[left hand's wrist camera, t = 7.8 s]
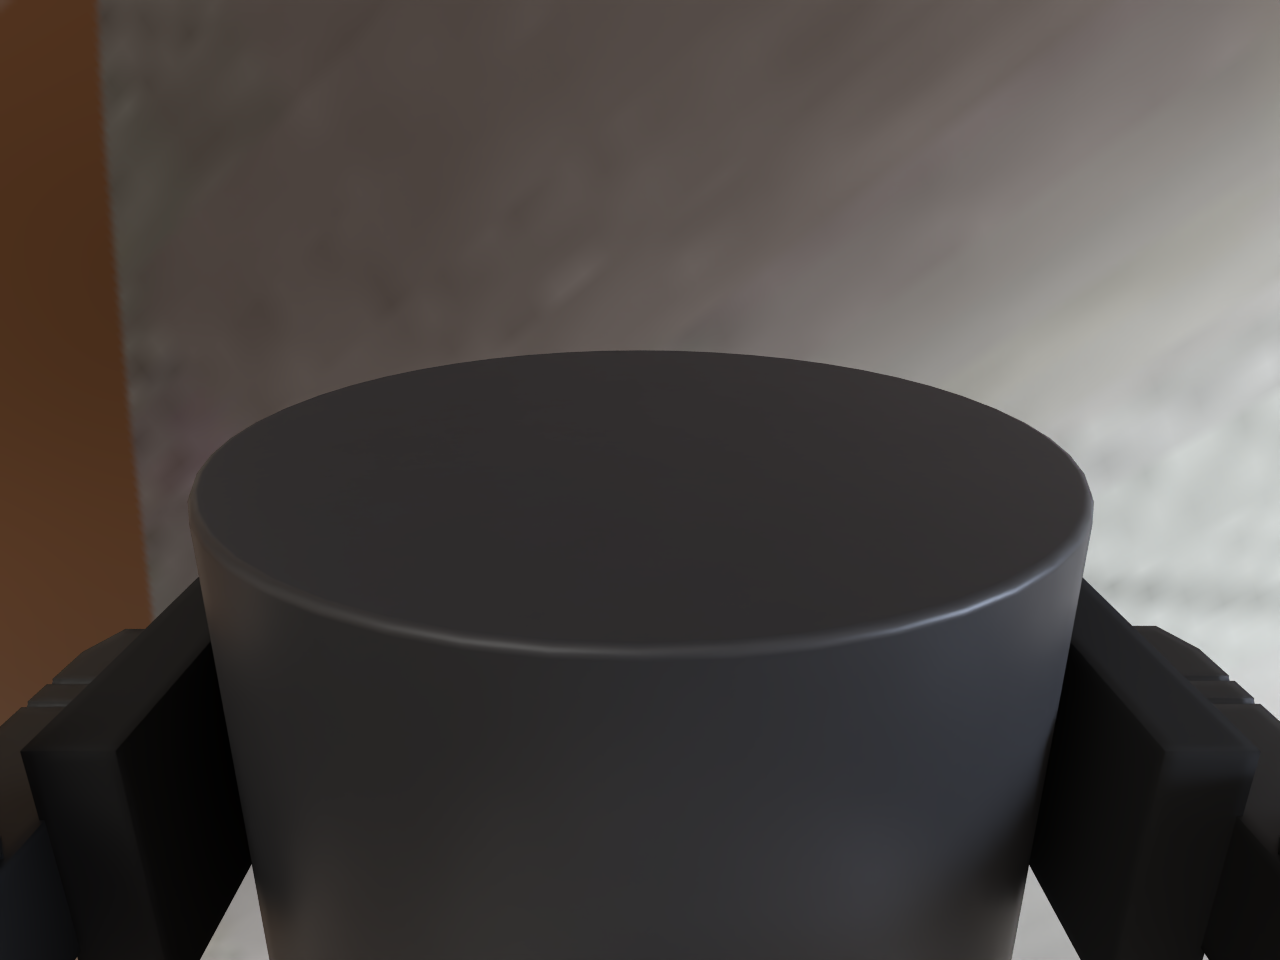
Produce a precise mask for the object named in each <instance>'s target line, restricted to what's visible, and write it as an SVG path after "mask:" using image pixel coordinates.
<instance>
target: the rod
mask: <svg viewBox="0 0 1280 960" xmlns="http://www.w3.org/2000/svg"><path fill="white" fill-rule="evenodd" d="M1093 506H1094V501H1093V498H1092V494H1091V491H1090V489H1089V486H1088V483H1087V480H1086V477H1085V475H1084V473H1083V472H1082V470H1081V469H1080V468H1079V466H1078V465H1077V464H1076V463H1075V461H1074V460H1073V459H1072V457H1071V456H1070V455H1069V454H1068V453H1067V452H1065V451H1064V450H1063V449H1062V448H1061V447H1060V446H1058V445H1057V444H1056V443H1055V442H1054V441H1052V440H1051V439H1050V438H1049V437H1047V436H1045V435H1044V434H1042V433H1040V432H1039V431H1037V430H1036V429H1034V428H1032V427H1031V426H1029V425H1027V424H1026V423H1024V422H1022V421H1020V420H1018V419H1016V418H1014V417H1011V416H1009V415H1007V414H1005V413H1003V412H1001V411H999V410H997V409H994V408H992V407H989V406H987V405H984V404H982V403H979V402H976V401H974V400H971V399H968V398H966V397H963V396H960V395H957V394H954V393H951V392H948V391H944V390H941V389H938V388H935V387H932V386H928V385H924V384H920V383H916V382H913V381H909V380H905V379H901V378H897V377H892V376H888V375H883V374H878V373H873V372H869V371H864V370H859V369H853V368H847V367H841V366H835V365H829V364H823V363H815V362H808V361H800V360H793V359H784V358H774V357H764V356H754V355H741V354H727V353H712V352H688V351H591V352H567V353H552V354H538V355H525V356H515V357H505V358H495V359H487V360H479V361H472V362H464V363H457V364H451V365H445V366H439V367H433V368H427V369H421V370H416V371H411V372H406V373H402V374H397V375H392V376H387V377H383V378H379V379H375V380H371V381H367V382H363V383H359V384H355V385H352V386H348V387H345V388H342V389H339V390H335V391H332V392H329V393H326V394H323V395H319V396H317V397H314V398H312V399H309V400H306V401H304V402H301V403H299V404H296V405H293V406H291V407H288V408H286V409H283V410H281V411H279V412H277V413H275V414H273V415H271V416H269V417H267V418H265V419H263V420H260V421H258V422H256V423H255V424H253V425H251V426H250V427H248V428H246V429H245V430H243V431H242V432H240V433H238V434H237V435H235V436H234V437H232V438H231V439H229V440H228V441H227V442H226V443H225V444H224V445H222V446H221V447H220V448H219V449H218V450H216V451H215V452H214V453H213V454H212V455H211V456H210V457H209V458H208V460H207V461H206V462H205V464H204V465H203V466H202V468H201V469H200V470H199V472H198V473H197V475H196V478H195V481H194V484H193V487H192V490H191V492H190V496H189V499H188V513H189V525H190V530H191V536H192V541H193V547H194V552H195V557H196V563H197V568H198V574H199V579H200V585H201V590H202V595H203V601H204V606H205V612H206V617H207V623H208V628H209V634H210V639H211V644H212V650H213V655H214V661H215V666H216V672H217V677H218V682H219V688H220V693H221V699H222V704H223V710H224V715H225V721H226V726H227V731H228V737H229V742H230V748H231V753H232V759H233V764H234V769H235V775H236V780H237V786H238V791H239V797H240V802H241V808H242V813H243V818H244V824H245V829H246V835H247V840H248V846H249V851H250V856H251V862H252V867H253V873H254V878H255V884H256V889H257V894H258V900H259V905H260V911H261V916H262V922H263V927H264V933H265V938H266V943H267V949H268V954H269V960H1011V959H1012V953H1013V948H1014V943H1015V937H1016V932H1017V926H1018V921H1019V916H1020V910H1021V905H1022V900H1023V894H1024V889H1025V883H1026V878H1027V873H1028V867H1029V862H1030V857H1031V851H1032V846H1033V840H1034V835H1035V830H1036V824H1037V819H1038V814H1039V808H1040V803H1041V797H1042V792H1043V787H1044V781H1045V776H1046V771H1047V765H1048V760H1049V754H1050V749H1051V744H1052V738H1053V733H1054V727H1055V722H1056V717H1057V711H1058V706H1059V701H1060V695H1061V690H1062V684H1063V679H1064V674H1065V668H1066V663H1067V658H1068V652H1069V647H1070V641H1071V636H1072V631H1073V625H1074V620H1075V615H1076V609H1077V604H1078V598H1079V593H1080V588H1081V582H1082V577H1083V572H1084V566H1085V561H1086V555H1087V550H1088V545H1089V539H1090V534H1091V528H1092V521H1093Z"/></svg>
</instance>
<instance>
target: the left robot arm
mask: <svg viewBox="0 0 1280 960" xmlns="http://www.w3.org/2000/svg"><path fill="white" fill-rule="evenodd" d="M251 864H252V862H251V856H250V851H249V846H248V840H247V835H246V829H245V824H244V818H243V813H242V808H241V802H240V797H239V791H238V786H237V780H236V775H235V769H234V764H233V759H232V753H231V748H230V742H229V737H228V731H227V726H226V721H225V715H224V710H223V704H222V699H221V693H220V688H219V682H218V677H217V672H216V666H215V661H214V655H213V650H212V644H211V639H210V634H209V628H208V623H207V617H206V612H205V606H204V601H203V595H202V590H201V585H200V579H199V577H198V578H197V579H196V580H195V581H194V582H193V583H192V584H191V585H190V586H189V587H188V588H187V589H186V590H185V591H184V592H183V593H182V594H181V595H180V596H179V597H178V598H177V599H176V600H175V601H173V602H172V603H171V604H170V605H169V606H168V607H167V608H166V609H165V610H164V611H163V612H162V613H161V614H160V615H159V616H158V617H157V618H156V619H155V620H154V621H153V622H152V623H151V624H150V625H149V626H148V627H147V628H146V629H125V630H123V631H121V632H119V633H117V634H115V635H113V636H112V637H110V638H108V639H106V640H104V641H102V642H100V643H98V644H97V645H95V646H93V647H91V648H89V649H87V650H85V651H83V652H82V653H81V654H80V655H79V656H78V657H76V658H75V659H74V660H73V661H72V662H71V663H70V664H69V665H68V666H66V667H65V668H64V669H63V670H62V671H61V672H60V673H59V674H58V675H57V676H55V677H54V678H53V683H52V684H47V685H46V686H44V687H43V688H42V689H41V690H40V691H39V692H38V693H37V694H36V695H34V696H33V697H32V698H31V699H30V700H29V701H28V706H27V707H22V708H20V709H19V710H18V711H17V712H16V713H15V714H14V715H12V716H11V717H10V718H9V719H8V720H7V721H6V722H5V723H4V724H3V725H1V726H0V960H75V959H76V958H77V957H78V960H200V959H201V957H202V955H203V953H204V951H205V949H206V948H207V946H208V944H209V942H210V940H211V938H212V936H213V935H214V933H215V931H216V929H217V927H218V925H219V924H220V922H221V920H222V918H223V916H224V914H225V912H226V911H227V909H228V907H229V905H230V903H231V901H232V899H233V898H234V896H235V894H236V892H237V890H238V888H239V887H240V885H241V883H242V881H243V879H244V877H245V875H246V874H247V872H248V870H249V868H250V866H251ZM1029 865H1030V867H1031V869H1032V871H1033V873H1034V874H1035V876H1036V878H1037V880H1038V882H1039V884H1040V885H1041V887H1042V889H1043V891H1044V893H1045V895H1046V897H1047V898H1048V900H1049V902H1050V904H1051V906H1052V908H1053V910H1054V911H1055V913H1056V915H1057V917H1058V919H1059V921H1060V922H1061V924H1062V926H1063V928H1064V930H1065V932H1066V934H1067V935H1068V937H1069V939H1070V941H1071V943H1072V945H1073V946H1074V948H1075V950H1076V952H1077V954H1078V956H1079V958H1080V959H1081V960H1203V956H1204V953H1205V955H1206V956H1207V957H1208V959H1209V960H1280V721H1279V720H1278V719H1276V718H1275V717H1274V716H1273V715H1272V714H1271V713H1270V712H1269V711H1268V710H1266V709H1265V708H1264V707H1263V706H1262V705H1261V704H1255V703H1254V698H1253V697H1252V696H1251V695H1250V694H1249V693H1248V692H1246V691H1245V690H1244V689H1243V688H1242V687H1241V686H1240V685H1239V684H1238V683H1236V682H1235V681H1229V675H1228V674H1226V673H1225V672H1224V671H1223V670H1222V669H1221V668H1220V667H1219V666H1218V665H1216V664H1215V663H1214V662H1213V661H1212V660H1211V659H1210V658H1209V657H1208V656H1206V655H1205V654H1204V653H1203V652H1202V651H1201V650H1200V649H1198V648H1196V647H1195V646H1193V645H1191V644H1189V643H1187V642H1185V641H1183V640H1181V639H1179V638H1178V637H1176V636H1174V635H1172V634H1170V633H1168V632H1166V631H1164V630H1163V629H1161V628H1159V627H1157V626H1132V625H1131V624H1130V623H1129V622H1128V621H1127V620H1126V619H1125V618H1124V617H1123V616H1121V615H1120V614H1119V613H1118V612H1117V611H1116V610H1115V609H1114V608H1113V607H1112V606H1111V605H1110V604H1109V603H1108V602H1107V601H1106V600H1105V599H1104V598H1103V597H1102V596H1101V595H1100V594H1099V593H1098V592H1097V591H1096V590H1095V589H1094V588H1093V587H1092V586H1091V585H1090V584H1089V583H1088V582H1087V581H1086V580H1085V579H1084V578H1082V582H1081V588H1080V593H1079V598H1078V604H1077V609H1076V615H1075V620H1074V625H1073V631H1072V636H1071V641H1070V647H1069V652H1068V658H1067V663H1066V668H1065V674H1064V679H1063V684H1062V690H1061V695H1060V701H1059V706H1058V711H1057V717H1056V722H1055V727H1054V733H1053V738H1052V744H1051V749H1050V754H1049V760H1048V765H1047V771H1046V776H1045V781H1044V787H1043V792H1042V797H1041V803H1040V808H1039V814H1038V819H1037V824H1036V830H1035V835H1034V840H1033V846H1032V851H1031V857H1030V862H1029Z"/></svg>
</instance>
